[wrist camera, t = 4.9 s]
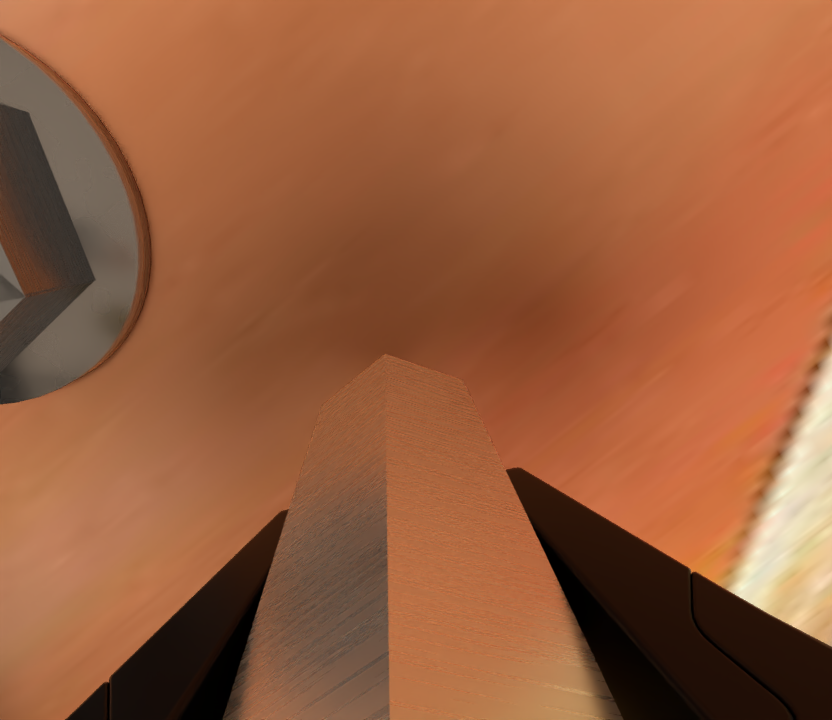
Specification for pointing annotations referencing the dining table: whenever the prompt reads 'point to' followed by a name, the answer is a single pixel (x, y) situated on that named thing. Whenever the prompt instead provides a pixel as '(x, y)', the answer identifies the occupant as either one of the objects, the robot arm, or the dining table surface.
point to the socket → (62, 233)
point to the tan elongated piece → (411, 575)
